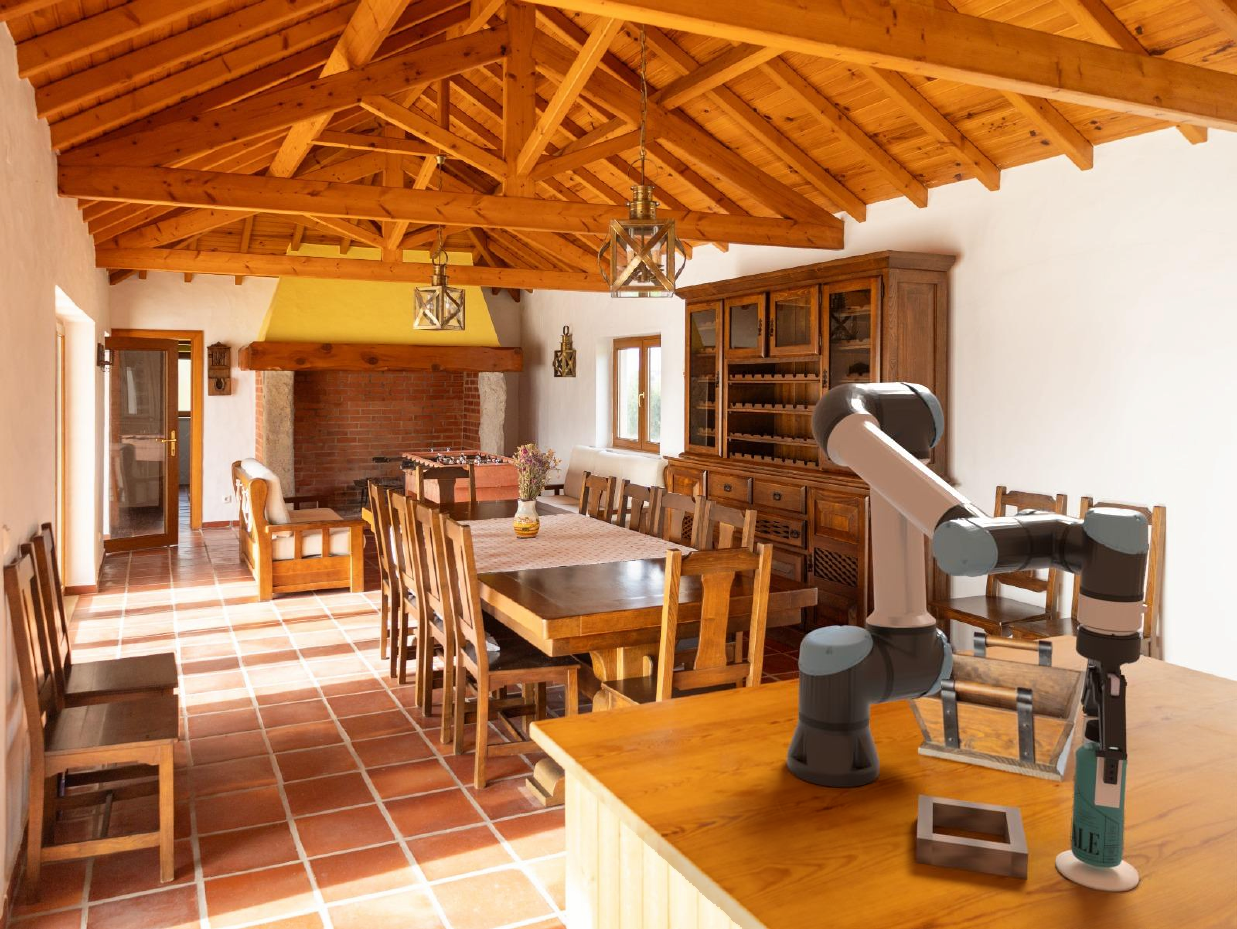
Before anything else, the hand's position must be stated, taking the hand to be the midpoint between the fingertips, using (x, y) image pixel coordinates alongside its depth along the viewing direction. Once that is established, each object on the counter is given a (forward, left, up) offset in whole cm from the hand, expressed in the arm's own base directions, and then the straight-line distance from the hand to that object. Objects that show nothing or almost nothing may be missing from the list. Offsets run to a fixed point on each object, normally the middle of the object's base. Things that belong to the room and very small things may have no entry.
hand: (1098, 782), depth 129 cm
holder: (-16, +2, -12) cm, 20 cm away
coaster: (0, 0, -12) cm, 12 cm away
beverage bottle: (0, 0, -12) cm, 12 cm away
